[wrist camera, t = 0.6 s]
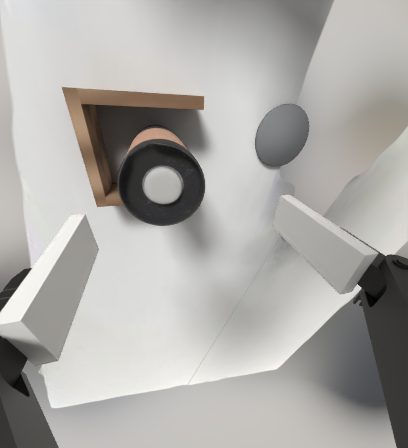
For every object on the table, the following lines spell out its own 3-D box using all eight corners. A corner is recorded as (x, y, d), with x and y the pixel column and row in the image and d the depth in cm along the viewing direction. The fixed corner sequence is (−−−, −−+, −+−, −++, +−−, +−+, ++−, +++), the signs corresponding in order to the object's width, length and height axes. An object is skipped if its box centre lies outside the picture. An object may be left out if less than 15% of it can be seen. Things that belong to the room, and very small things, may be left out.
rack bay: (80, 91, 26) (61, 87, 21) (194, 98, 30) (204, 96, 24) (105, 191, 34) (97, 206, 29) (193, 187, 38) (200, 200, 32)
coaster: (261, 102, 32) (263, 102, 32) (314, 105, 35) (317, 105, 34) (250, 166, 38) (252, 166, 37) (296, 164, 41) (298, 165, 40)
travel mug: (172, 175, 35) (190, 233, 19) (130, 162, 32) (108, 218, 16) (185, 133, 32) (220, 161, 16) (139, 115, 29) (124, 124, 13)
